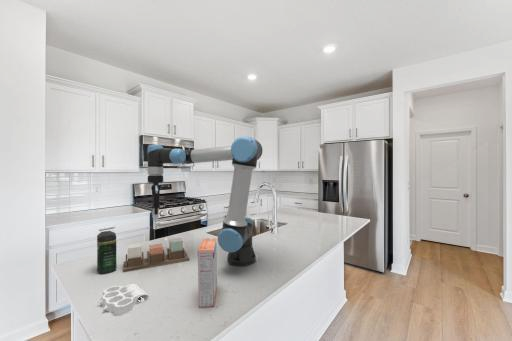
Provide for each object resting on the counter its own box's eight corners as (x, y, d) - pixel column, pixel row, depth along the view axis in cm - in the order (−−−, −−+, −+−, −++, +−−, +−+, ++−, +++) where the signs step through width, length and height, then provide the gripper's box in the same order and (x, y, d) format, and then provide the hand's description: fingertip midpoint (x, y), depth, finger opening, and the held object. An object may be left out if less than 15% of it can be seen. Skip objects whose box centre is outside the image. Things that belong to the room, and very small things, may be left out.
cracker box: (202, 288, 100) (202, 238, 99) (217, 287, 100) (217, 237, 100) (197, 308, 86) (197, 250, 85) (214, 307, 86) (214, 249, 86)
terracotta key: (162, 258, 124) (162, 247, 124) (150, 260, 122) (150, 248, 121) (161, 254, 130) (161, 243, 130) (149, 256, 127) (149, 245, 127)
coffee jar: (118, 271, 116) (117, 232, 115) (98, 275, 111) (97, 235, 110) (114, 264, 123) (114, 228, 123) (96, 268, 118) (95, 231, 118)
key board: (189, 260, 129) (189, 250, 128) (123, 272, 114) (122, 260, 114) (185, 254, 137) (185, 244, 137) (123, 264, 123) (123, 253, 123)
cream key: (141, 258, 120) (141, 246, 120) (127, 260, 117) (127, 248, 117) (141, 254, 125) (140, 243, 125) (128, 256, 122) (127, 244, 122)
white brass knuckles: (152, 303, 89) (107, 322, 79) (133, 287, 102) (92, 301, 91) (152, 294, 89) (107, 312, 78) (133, 279, 101) (92, 292, 91)
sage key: (182, 251, 129) (182, 240, 129) (170, 253, 126) (170, 242, 126) (180, 248, 134) (180, 237, 134) (169, 250, 131) (169, 239, 131)
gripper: (146, 174, 129) (147, 218, 129) (148, 175, 117) (148, 223, 118) (161, 174, 132) (162, 217, 133) (164, 175, 121) (165, 222, 121)
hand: (155, 220), depth 125 cm, fingers closed
